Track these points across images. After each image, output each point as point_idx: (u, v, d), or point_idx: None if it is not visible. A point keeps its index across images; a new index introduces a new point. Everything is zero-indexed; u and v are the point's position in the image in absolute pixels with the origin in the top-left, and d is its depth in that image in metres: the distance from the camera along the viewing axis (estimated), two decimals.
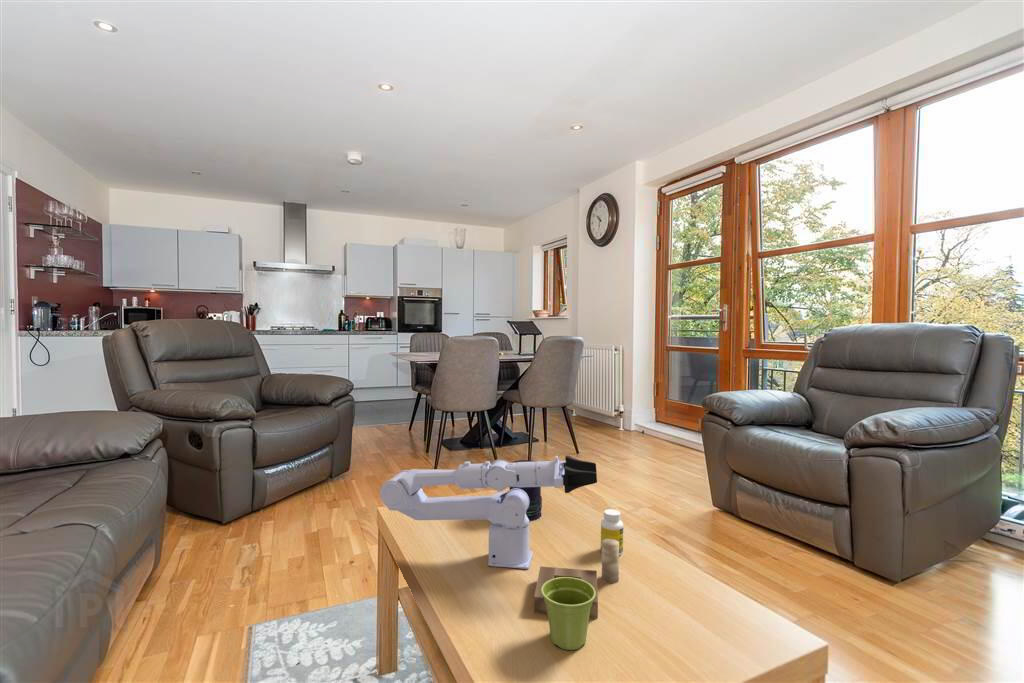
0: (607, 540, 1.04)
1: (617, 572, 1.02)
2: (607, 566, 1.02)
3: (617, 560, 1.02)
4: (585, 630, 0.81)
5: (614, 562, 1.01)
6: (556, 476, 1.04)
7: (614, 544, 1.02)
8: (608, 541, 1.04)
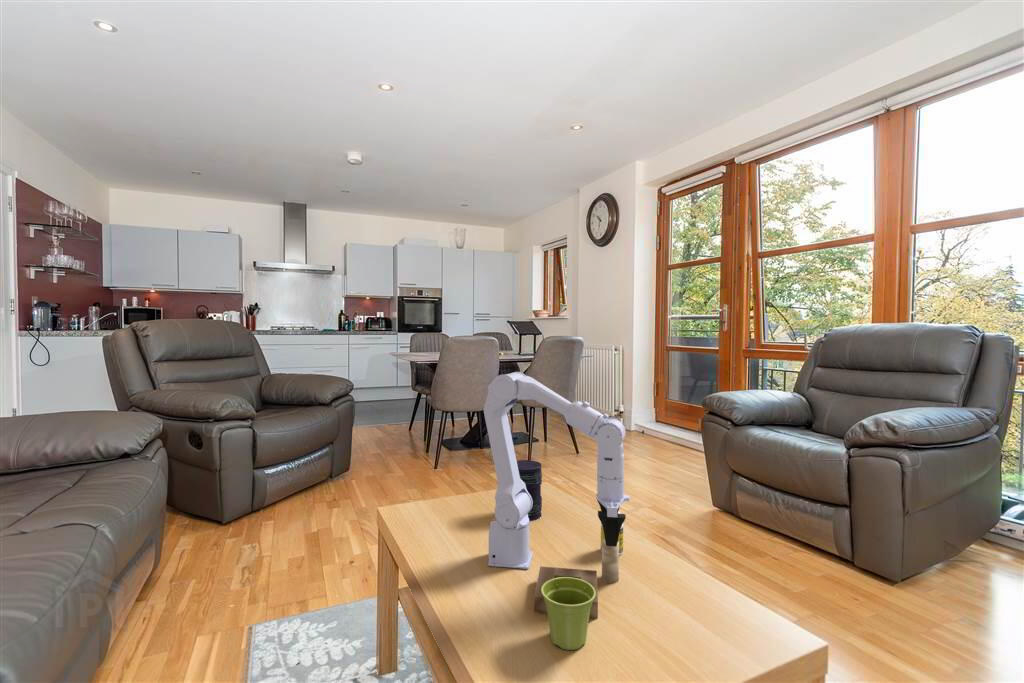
0: None
1: (617, 572, 1.02)
2: (607, 566, 1.02)
3: (617, 560, 1.02)
4: (585, 630, 0.81)
5: (614, 562, 1.01)
6: (617, 508, 0.97)
7: None
8: None
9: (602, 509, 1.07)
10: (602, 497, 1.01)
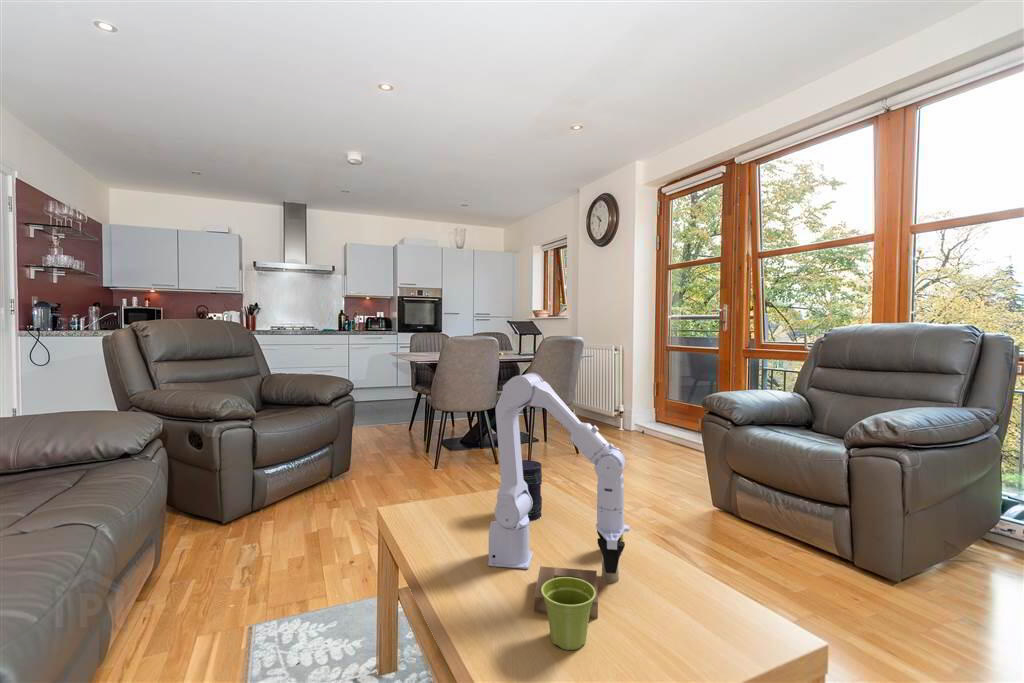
0: None
1: (617, 572, 1.02)
2: None
3: None
4: (585, 630, 0.81)
5: None
6: (617, 540, 0.97)
7: None
8: None
9: None
10: (602, 528, 1.01)
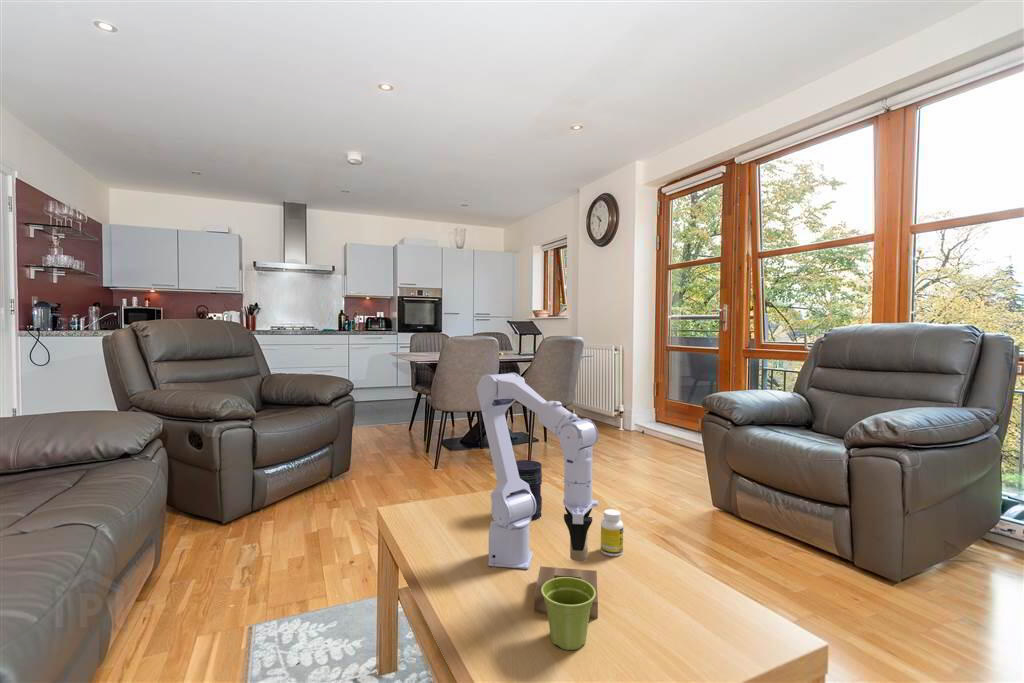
0: None
1: (587, 550, 0.96)
2: None
3: (586, 537, 0.96)
4: (585, 630, 0.81)
5: None
6: (583, 514, 0.91)
7: None
8: None
9: None
10: (569, 502, 0.95)
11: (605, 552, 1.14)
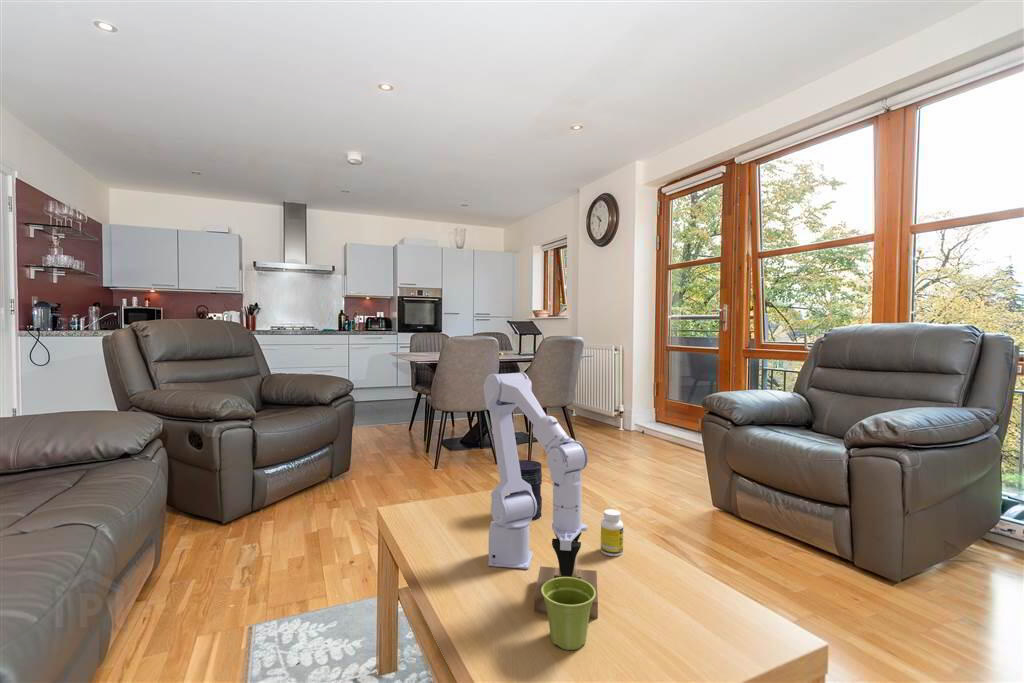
0: None
1: (576, 575, 0.95)
2: None
3: (575, 562, 0.94)
4: (585, 630, 0.81)
5: None
6: (571, 540, 0.89)
7: None
8: None
9: None
10: (557, 527, 0.93)
11: (605, 552, 1.14)
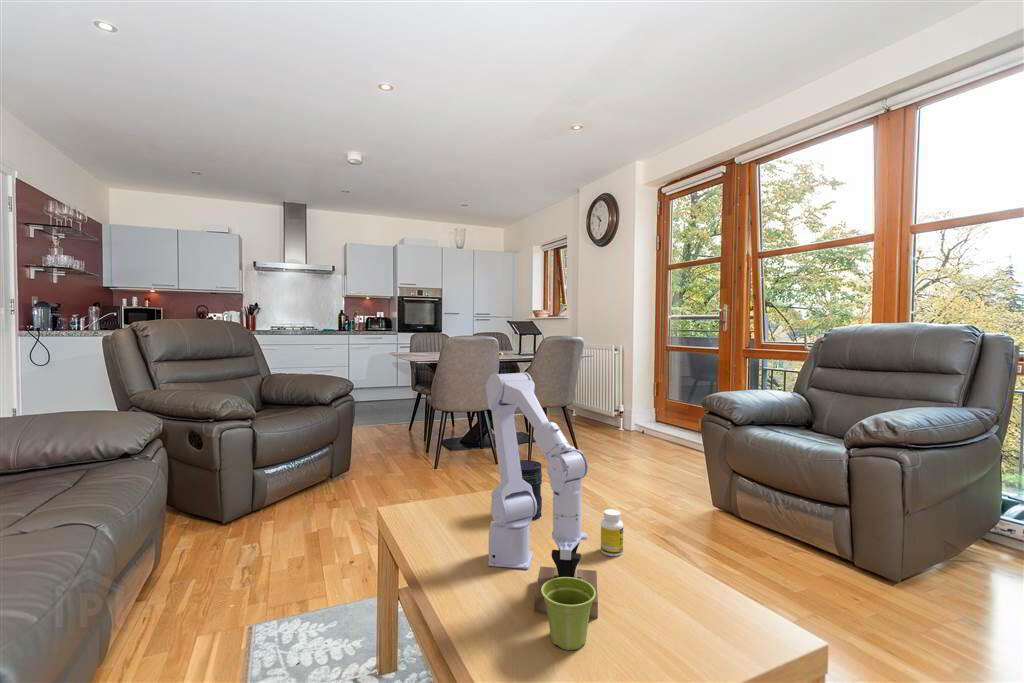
0: None
1: None
2: None
3: (575, 575, 0.94)
4: (585, 630, 0.81)
5: None
6: (571, 549, 0.89)
7: None
8: None
9: (559, 548, 0.99)
10: (557, 536, 0.94)
11: (605, 552, 1.14)
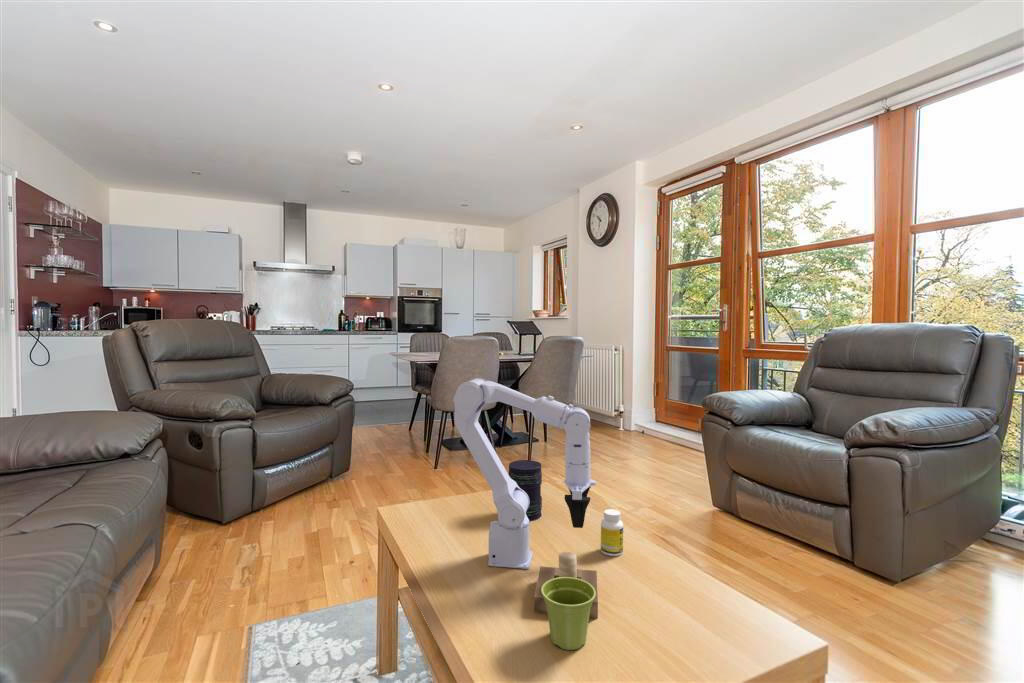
0: (564, 554, 0.96)
1: None
2: None
3: (575, 575, 0.94)
4: (585, 630, 0.81)
5: None
6: (582, 491, 1.03)
7: (572, 558, 0.95)
8: (565, 554, 0.96)
9: (572, 494, 1.13)
10: (569, 482, 1.07)
11: (605, 552, 1.14)
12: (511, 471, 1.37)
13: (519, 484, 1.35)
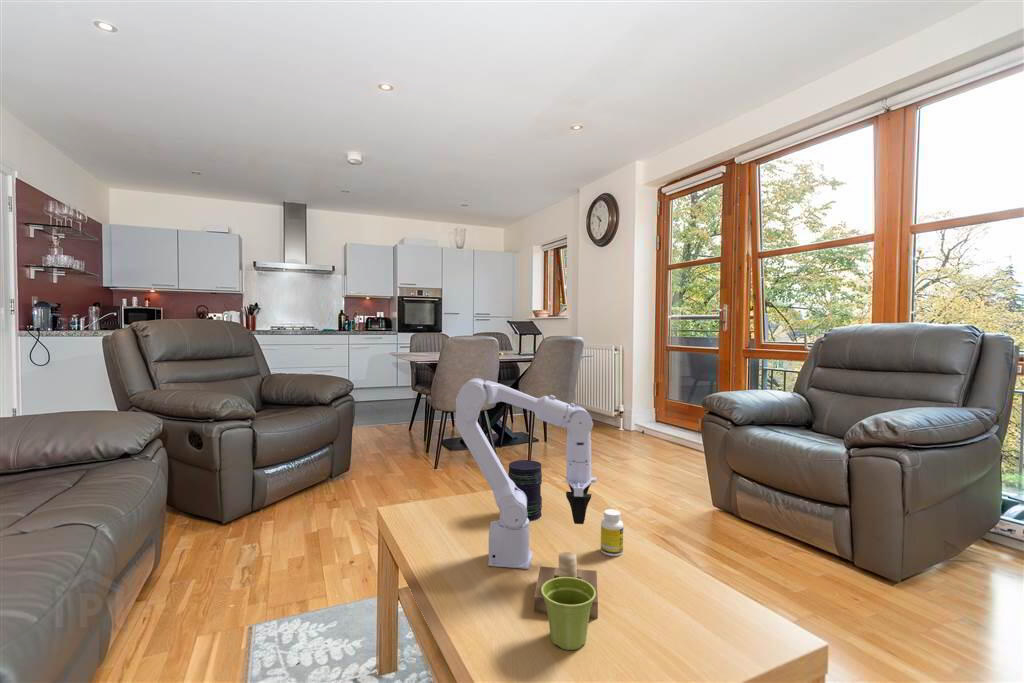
0: (564, 554, 0.96)
1: None
2: None
3: (575, 575, 0.94)
4: (585, 630, 0.81)
5: None
6: (583, 488, 1.05)
7: (572, 558, 0.95)
8: (565, 554, 0.96)
9: (572, 491, 1.15)
10: (570, 479, 1.09)
11: (605, 552, 1.14)
12: (511, 471, 1.37)
13: (519, 484, 1.35)
